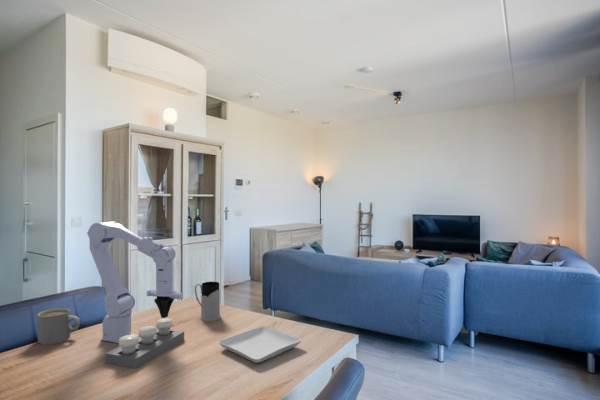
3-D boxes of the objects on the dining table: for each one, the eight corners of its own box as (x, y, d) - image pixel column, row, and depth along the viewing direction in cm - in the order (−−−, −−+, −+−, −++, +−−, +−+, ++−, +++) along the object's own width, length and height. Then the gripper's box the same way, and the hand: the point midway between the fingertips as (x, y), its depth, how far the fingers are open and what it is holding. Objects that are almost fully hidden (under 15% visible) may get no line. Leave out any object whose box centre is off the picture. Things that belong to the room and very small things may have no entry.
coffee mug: (30, 344, 130) (30, 316, 130) (50, 333, 140) (50, 308, 140) (67, 344, 129) (67, 316, 129) (84, 334, 139) (84, 308, 139)
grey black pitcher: (209, 322, 153) (210, 287, 153) (187, 316, 161) (187, 282, 161) (224, 316, 160) (225, 282, 160) (202, 311, 168) (202, 278, 168)
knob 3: (152, 336, 131) (152, 322, 131) (163, 330, 137) (163, 317, 137) (165, 338, 130) (165, 324, 130) (175, 332, 135) (175, 319, 135)
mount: (105, 362, 116) (105, 353, 116) (157, 335, 138) (157, 327, 138) (135, 368, 112) (135, 358, 112) (184, 339, 135) (184, 331, 135)
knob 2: (135, 345, 123) (135, 330, 123) (147, 339, 129) (147, 325, 129) (148, 347, 122) (148, 332, 122) (160, 341, 127) (160, 327, 127)
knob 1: (115, 355, 115) (115, 340, 115) (128, 348, 121) (128, 333, 121) (129, 358, 114) (129, 342, 113) (142, 351, 119) (142, 335, 119)
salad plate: (216, 350, 126) (216, 340, 126) (263, 333, 142) (263, 324, 142) (256, 370, 112) (256, 359, 112) (303, 349, 127) (303, 339, 127)
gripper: (187, 279, 134) (188, 315, 135) (155, 276, 139) (155, 311, 139) (175, 283, 128) (175, 322, 128) (142, 280, 132) (142, 317, 133)
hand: (164, 317), depth 133 cm, fingers closed
